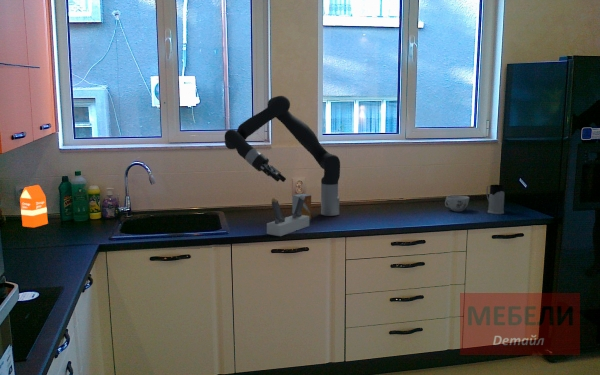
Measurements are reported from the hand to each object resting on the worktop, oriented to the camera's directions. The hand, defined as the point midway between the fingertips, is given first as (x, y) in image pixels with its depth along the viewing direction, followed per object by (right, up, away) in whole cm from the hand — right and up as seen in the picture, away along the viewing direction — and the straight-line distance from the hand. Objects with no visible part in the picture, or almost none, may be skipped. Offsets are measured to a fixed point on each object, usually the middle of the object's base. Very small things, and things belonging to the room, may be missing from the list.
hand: (282, 180), depth 246 cm
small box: (+9, -20, +29) cm, 37 cm away
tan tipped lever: (-1, -19, 0) cm, 19 cm away
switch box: (+3, -24, +7) cm, 25 cm away
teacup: (+97, -17, +49) cm, 109 cm away
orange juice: (-126, -23, +18) cm, 129 cm away
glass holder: (+117, -17, +47) cm, 127 cm away
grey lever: (+7, -18, +12) cm, 22 cm away
